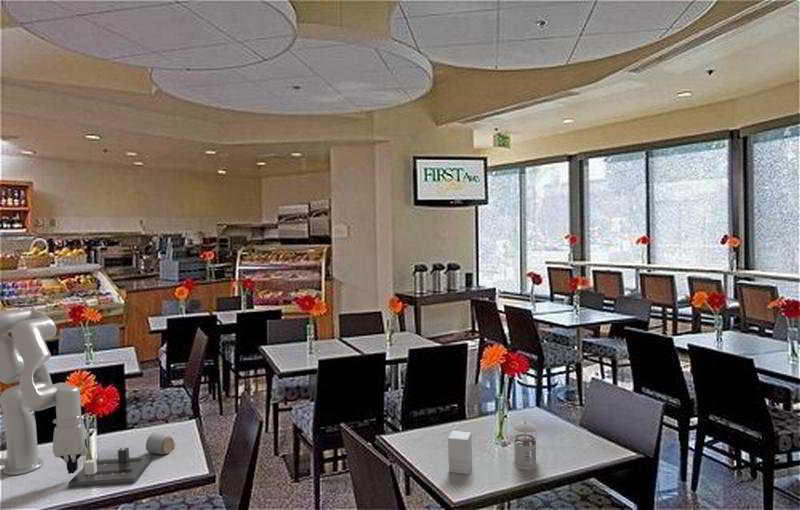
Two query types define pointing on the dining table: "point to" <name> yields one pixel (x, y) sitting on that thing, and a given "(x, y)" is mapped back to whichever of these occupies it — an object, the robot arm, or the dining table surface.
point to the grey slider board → (112, 472)
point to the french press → (525, 446)
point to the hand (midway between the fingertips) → (72, 471)
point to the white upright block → (90, 467)
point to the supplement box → (460, 452)
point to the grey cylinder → (159, 443)
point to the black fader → (123, 454)
